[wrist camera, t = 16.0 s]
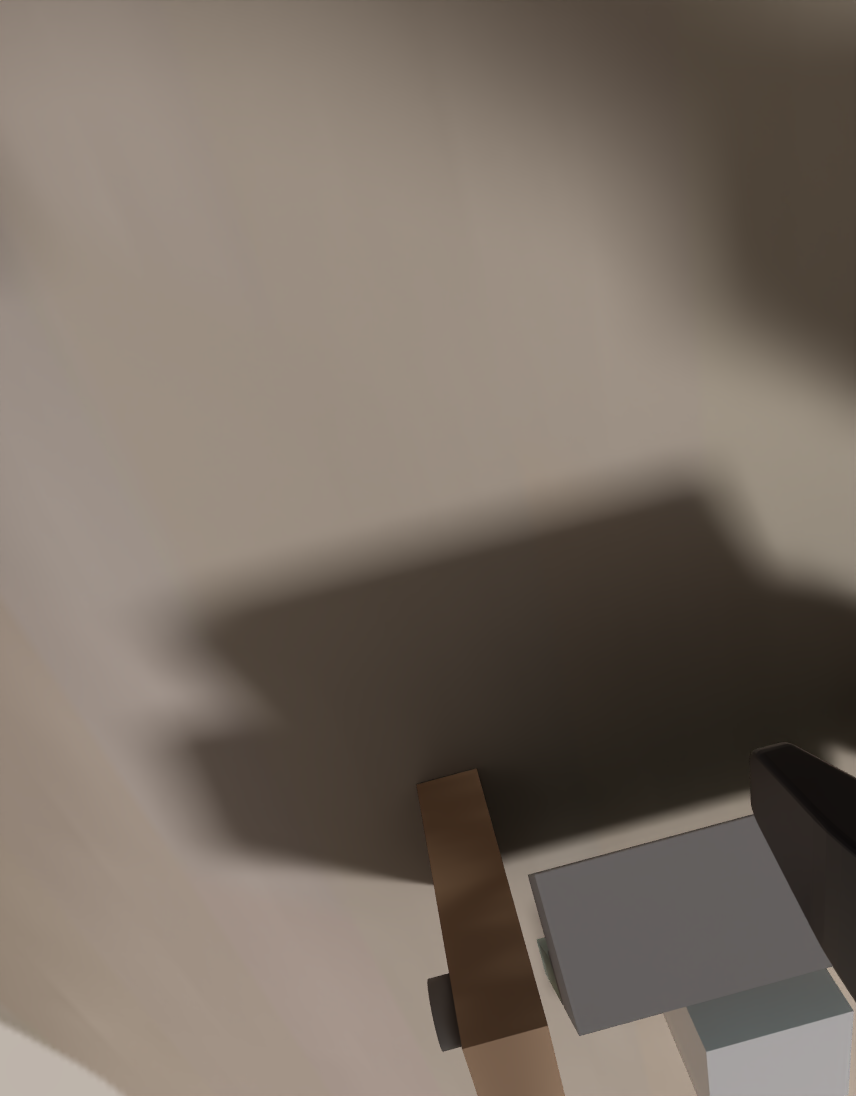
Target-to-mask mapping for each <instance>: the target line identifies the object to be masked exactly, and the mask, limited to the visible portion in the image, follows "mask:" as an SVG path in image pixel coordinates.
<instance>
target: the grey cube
mask: <svg viewBox="0 0 856 1096" xmlns="http://www.w3.org/2000/svg"><path fill="white" fill-rule="evenodd" d="M853 1012H854V1011H853V1009H852V1008H851V1006H850V1005H849V1003H848V1002H847V1000H846V998H845V997H844V995H843V994H842V992H841V991H840V989H839V988H838V986H837V984H836V983H835V981H834V980H833V978H832V977H831V975H830V974H829V972H828V970H827V969H826V968H825V969H821V970H818V971H814V972H810V973H807V974H803V975H799V976H796V977H792V978H788V979H785V980H781V981H778V982H774V983H770V984H767V985H763V986H759V987H756V988H752V989H748V990H745V991H741V992H738V993H734V994H730V995H727V996H723V997H719V998H716V999H712V1000H709V1001H705V1002H701V1003H698V1004H694V1005H690V1006H687V1007H683V1008H679V1009H676V1010H672V1011H669V1012H665V1013H663V1015H664V1017H665V1019H666V1022H667V1024H668V1027H669V1029H670V1031H671V1034H672V1036H673V1039H674V1041H675V1043H676V1046H677V1048H678V1051H679V1053H680V1055H681V1058H682V1060H683V1062H684V1065H685V1067H686V1070H687V1072H688V1074H689V1077H690V1079H691V1082H692V1084H693V1086H694V1089H695V1091H696V1094H697V1096H847V1095H848V1092H849V1076H850V1060H851V1044H852V1028H853Z"/></svg>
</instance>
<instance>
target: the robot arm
mask: <svg viewBox="0 0 856 1096" xmlns="http://www.w3.org/2000/svg"><path fill="white" fill-rule="evenodd" d="M749 766H750V794H751V806H752V810H753V814H754V817H755V819H756V822H757V824H758V826H759V828H760V830H761V832H762V834H763V836H764V838H765V839H766V841H767V843H768V845H769V847H770V849H771V851H772V853H773V855H774V857H775V859H776V861H777V863H778V865H779V867H780V869H781V871H782V873H783V875H784V877H785V878H786V880H787V882H788V884H789V886H790V888H791V890H792V892H793V894H794V896H795V898H796V900H797V902H798V904H799V906H800V908H801V910H802V912H803V914H804V916H805V918H806V919H807V921H808V923H809V925H810V927H811V929H812V931H813V933H814V935H815V937H816V939H817V940H818V942H819V944H820V946H821V948H822V950H823V951H824V953H825V955H826V956H827V958H828V960H829V961H830V963H831V964H832V966H833V968H834V969H835V971H836V973H837V974H838V976H839V977H840V979H841V980H842V982H843V983H844V985H845V987H846V988H847V990H848V991H849V993H850V994H851V996H852V997H853V999H854V1000H855V1002H856V778H855V777H853V776H852V775H850V774H848V773H846V772H844V771H842V770H840V769H838V768H837V767H835V766H833V765H831V764H829V763H827V762H825V761H823V760H822V759H820V758H818V757H816V756H814V755H812V754H810V753H808V752H807V751H805V750H803V749H801V748H799V747H797V746H795V745H793V744H791V743H787V742H780V743H776V744H772V745H768V746H765V747H761V748H757V749H755V750H753V751H752V752H751V754H750V759H749Z"/></svg>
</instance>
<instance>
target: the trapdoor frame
mask: <svg viewBox="0 0 856 1096" xmlns="http://www.w3.org/2000/svg"><path fill="white" fill-rule="evenodd" d="M416 785H417V791H418V797H419V803H420V808H421V814H422V820H423V826H424V832H425V837H426V843H427V849H428V855H429V860H430V866H431V872H432V878H433V883H434V889H435V895H436V901H437V906H438V912H439V918H440V924H441V929H442V935H443V941H444V947H445V952H446V958H447V964H448V970H449V973H448V974H445V975H441V976H437V977H434V978H430V979H428V993H429V1000H430V1005H431V1011H432V1016H433V1021H434V1025H435V1029H436V1033H437V1037H438V1041H439V1044H440V1047H441V1049H442V1051H443V1052H444V1051H447V1050H451V1049H454V1048H458V1047H462V1050H463V1053H464V1056H465V1059H466V1062H467V1065H468V1068H469V1071H470V1074H471V1077H472V1080H473V1083H474V1086H475V1089H476V1092H477V1095H478V1096H565V1094H564V1090H563V1086H562V1082H561V1078H560V1074H559V1070H558V1065H557V1061H556V1057H555V1053H554V1049H553V1045H552V1041H551V1037H550V1033H549V1028H548V1024H547V1021H546V1017H545V1014H544V1010H543V1006H542V1003H541V999H540V996H539V992H538V988H537V985H536V981H535V978H534V974H533V970H532V967H531V963H530V959H529V956H528V952H527V949H526V945H525V941H524V938H523V934H522V931H521V927H520V923H519V920H518V916H517V913H516V909H515V905H514V902H513V898H512V895H511V891H510V887H509V884H508V880H507V876H506V873H505V869H504V866H503V862H502V858H501V855H500V851H499V848H498V844H497V840H496V837H495V833H494V830H493V826H492V822H491V819H490V815H489V812H488V808H487V804H486V801H485V797H484V793H483V790H482V786H481V783H480V779H479V775H478V772H477V768H476V769H473V770H469V771H465V772H461V773H458V774H454V775H450V776H446V777H443V778H439V779H435V780H431V781H428V782H424V783H420V784H416Z"/></svg>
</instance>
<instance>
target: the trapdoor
mask: <svg viewBox="0 0 856 1096" xmlns="http://www.w3.org/2000/svg"><path fill="white" fill-rule="evenodd" d="M528 877H529V881H530V885H531V888H532V892H533V895H534V899H535V903H536V906H537V910H538V914H539V917H540V921H541V925H542V928H543V932H544V935H545V938H541V939H537V943H538V947H539V950H540V954H541V958H542V961H543V965H544V969H545V972H546V975H547V977H548V979H549V980H550V982H551V984H552V986H553V988H554V990H555V992H556V993H557V995H558V997H559V999H560V1001H561V1003H562V1005H564V1008H565V1010H566V1012H567V1014H568V1016H569V1018H570V1019H571V1021H572V1023H573V1025H574V1027H575V1029H576V1031H577V1032H578V1034H579V1036H581V1035H585V1034H589V1033H592V1032H596V1031H600V1030H603V1029H607V1028H610V1027H614V1026H618V1025H621V1024H625V1023H629V1022H632V1021H636V1020H639V1019H643V1018H647V1017H650V1016H654V1015H658V1014H661V1013H665V1012H669V1011H672V1010H676V1009H679V1008H683V1007H687V1006H690V1005H694V1004H698V1003H701V1002H705V1001H709V1000H712V999H716V998H719V997H723V996H727V995H730V994H734V993H738V992H741V991H745V990H748V989H752V988H756V987H759V986H763V985H767V984H770V983H774V982H778V981H781V980H785V979H788V978H792V977H796V976H799V975H803V974H807V973H810V972H814V971H818V970H821V969H825V968H828V967H832V964H831V963H830V961H829V960H828V958H827V956H826V955H825V953H824V951H823V950H822V948H821V946H820V944H819V942H818V940H817V939H816V937H815V935H814V933H813V931H812V929H811V927H810V925H809V923H808V921H807V919H806V918H805V916H804V914H803V912H802V910H801V908H800V906H799V904H798V902H797V900H796V898H795V896H794V894H793V892H792V890H791V888H790V886H789V884H788V882H787V880H786V878H785V877H784V875H783V873H782V871H781V869H780V867H779V865H778V863H777V861H776V859H775V857H774V855H773V853H772V851H771V849H770V847H769V845H768V843H767V841H766V839H765V838H764V836H763V834H762V832H761V830H760V828H759V826H758V824H757V822H756V819H755V817H754V814H752V815H748V816H745V817H741V818H737V819H733V820H730V821H726V822H722V823H719V824H715V825H711V826H708V827H704V828H700V829H696V830H693V831H689V832H685V833H682V834H678V835H674V836H670V837H667V838H663V839H659V840H656V841H652V842H648V843H644V844H641V845H637V846H633V847H630V848H626V849H622V850H619V851H615V852H611V853H607V854H604V855H600V856H596V857H593V858H589V859H585V860H581V861H578V862H574V863H570V864H567V865H563V866H559V867H555V868H552V869H548V870H544V871H541V872H537V873H533V874H530V875H528Z"/></svg>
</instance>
